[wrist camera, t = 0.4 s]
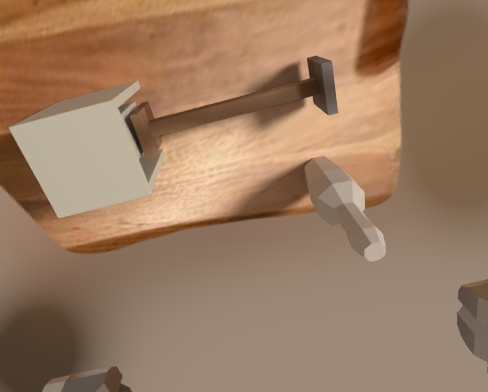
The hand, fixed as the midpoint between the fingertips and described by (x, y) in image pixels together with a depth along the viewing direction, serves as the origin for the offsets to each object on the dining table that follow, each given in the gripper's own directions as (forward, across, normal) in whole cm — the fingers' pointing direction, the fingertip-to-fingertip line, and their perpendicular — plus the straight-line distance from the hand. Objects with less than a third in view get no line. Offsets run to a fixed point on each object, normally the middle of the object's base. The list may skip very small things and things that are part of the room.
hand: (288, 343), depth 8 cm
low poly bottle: (+45, -10, +17) cm, 49 cm away
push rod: (+43, 0, +3) cm, 43 cm away
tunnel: (+45, +17, +3) cm, 48 cm away
